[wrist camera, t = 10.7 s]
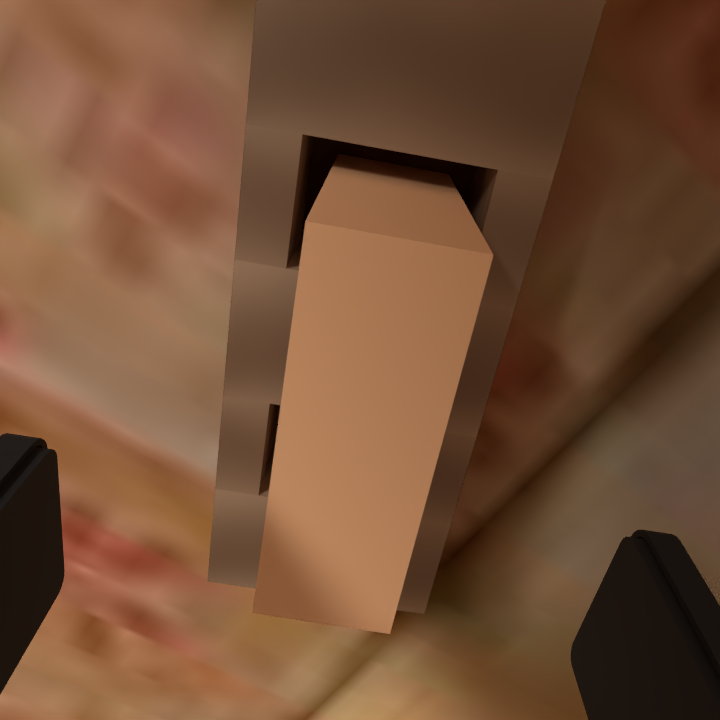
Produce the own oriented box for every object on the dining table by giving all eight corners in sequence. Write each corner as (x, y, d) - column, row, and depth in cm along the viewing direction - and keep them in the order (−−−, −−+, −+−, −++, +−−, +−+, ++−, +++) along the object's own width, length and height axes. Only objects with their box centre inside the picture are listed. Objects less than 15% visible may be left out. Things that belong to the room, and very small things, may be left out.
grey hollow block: (284, -48, 17) (262, -73, 14) (567, 6, 18) (608, -5, 14) (229, 517, 26) (207, 581, 23) (419, 547, 26) (423, 614, 23)
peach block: (338, 153, 19) (305, 221, 11) (448, 174, 20) (493, 254, 11) (297, 424, 24) (252, 612, 16) (387, 439, 24) (390, 633, 16)
